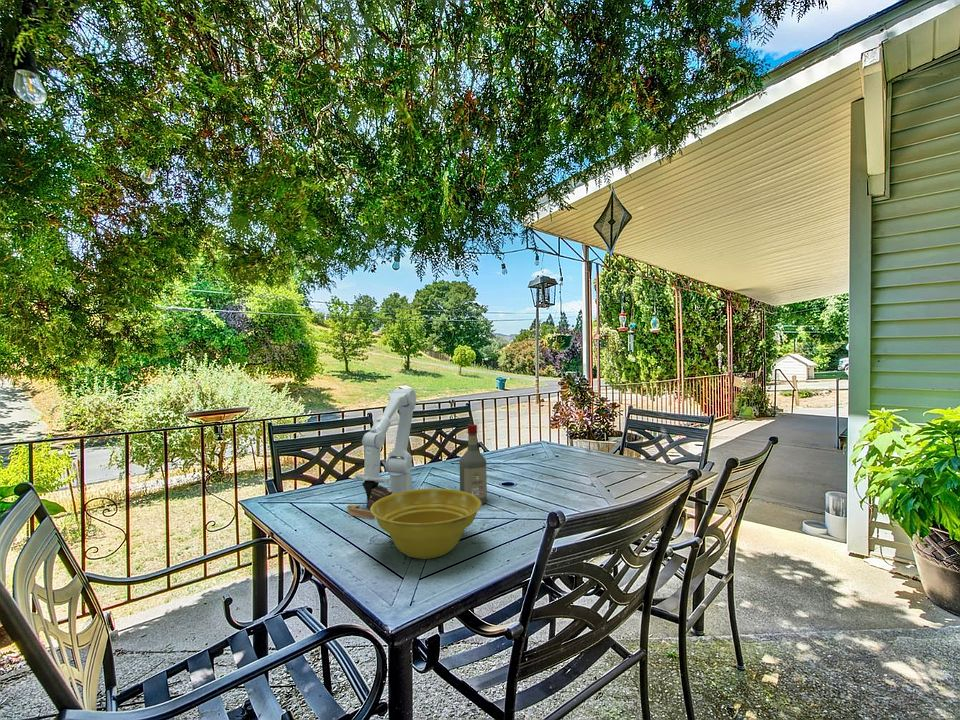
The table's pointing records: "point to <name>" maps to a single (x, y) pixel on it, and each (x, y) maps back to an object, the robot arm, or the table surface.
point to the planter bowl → (426, 519)
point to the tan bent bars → (359, 512)
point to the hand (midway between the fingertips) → (370, 501)
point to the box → (377, 495)
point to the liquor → (473, 468)
